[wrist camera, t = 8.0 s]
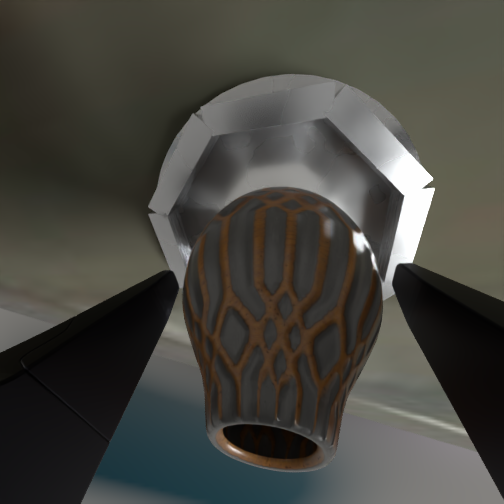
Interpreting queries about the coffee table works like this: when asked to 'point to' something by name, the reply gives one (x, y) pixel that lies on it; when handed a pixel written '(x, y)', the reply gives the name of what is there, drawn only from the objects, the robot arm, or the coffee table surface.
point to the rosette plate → (294, 164)
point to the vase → (280, 324)
